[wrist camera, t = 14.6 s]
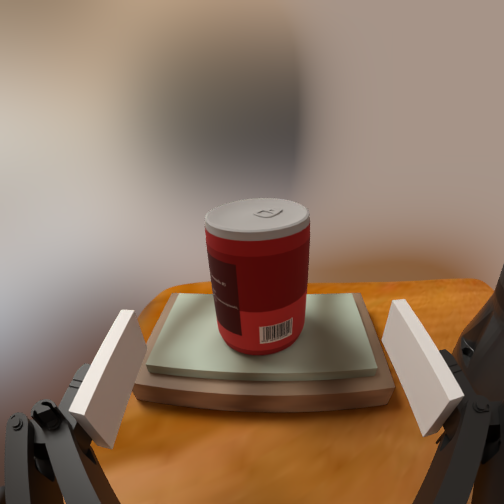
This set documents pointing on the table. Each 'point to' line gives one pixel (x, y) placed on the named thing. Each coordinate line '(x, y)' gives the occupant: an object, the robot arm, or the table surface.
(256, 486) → the table surface
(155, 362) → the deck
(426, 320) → the table surface
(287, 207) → the canned food
